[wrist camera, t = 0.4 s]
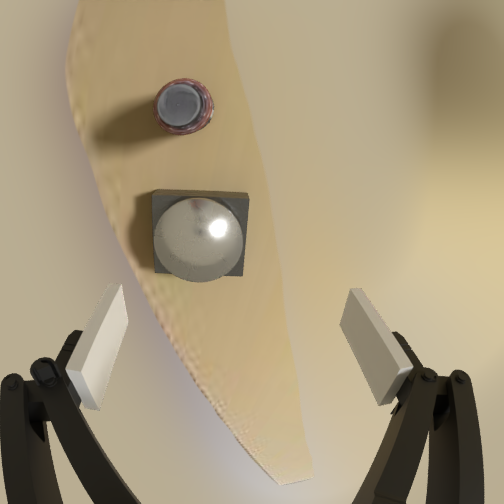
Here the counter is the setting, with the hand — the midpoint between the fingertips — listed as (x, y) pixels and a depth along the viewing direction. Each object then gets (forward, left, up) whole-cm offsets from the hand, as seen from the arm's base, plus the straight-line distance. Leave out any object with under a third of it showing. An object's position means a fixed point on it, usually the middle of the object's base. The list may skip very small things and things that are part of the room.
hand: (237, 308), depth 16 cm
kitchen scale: (+5, -4, -25) cm, 25 cm away
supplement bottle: (-11, -6, -25) cm, 28 cm away
